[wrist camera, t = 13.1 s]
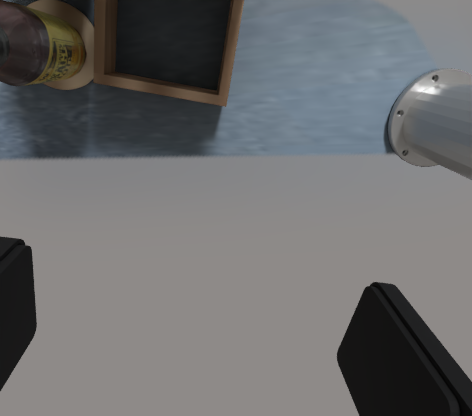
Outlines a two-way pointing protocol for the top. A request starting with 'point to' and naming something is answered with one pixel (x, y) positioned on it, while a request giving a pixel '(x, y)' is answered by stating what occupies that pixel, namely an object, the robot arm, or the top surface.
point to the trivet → (86, 29)
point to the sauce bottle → (37, 46)
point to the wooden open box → (107, 76)
